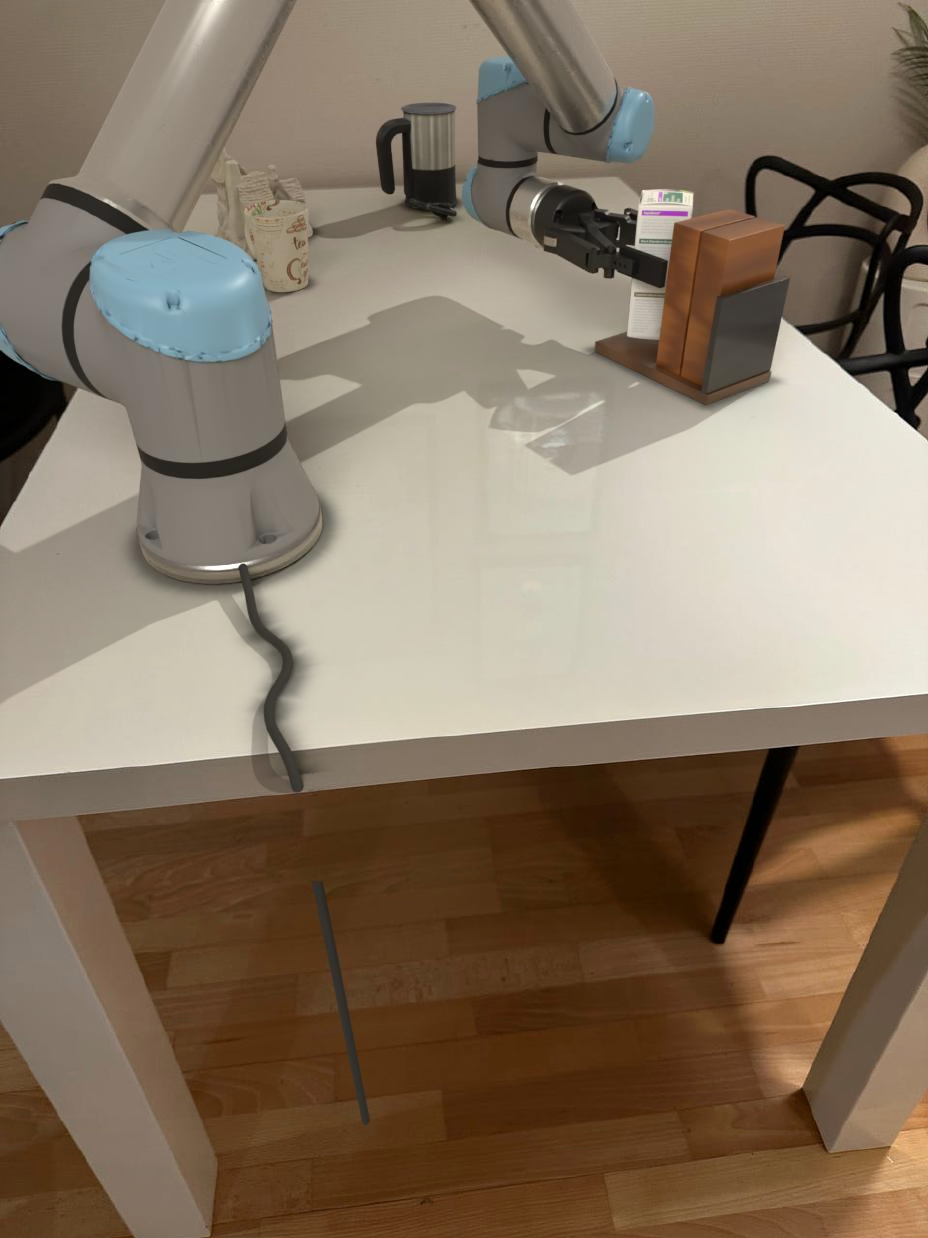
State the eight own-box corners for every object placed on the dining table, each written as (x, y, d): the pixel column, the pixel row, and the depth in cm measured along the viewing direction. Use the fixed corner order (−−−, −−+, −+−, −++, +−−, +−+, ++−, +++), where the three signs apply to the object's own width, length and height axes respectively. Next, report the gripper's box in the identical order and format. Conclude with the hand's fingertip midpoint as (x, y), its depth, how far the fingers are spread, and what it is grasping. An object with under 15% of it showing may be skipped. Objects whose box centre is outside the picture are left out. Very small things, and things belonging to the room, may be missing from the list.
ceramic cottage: (229, 262, 131) (216, 148, 122) (207, 236, 143) (193, 130, 134) (332, 254, 137) (325, 144, 128) (302, 230, 149) (295, 127, 140)
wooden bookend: (769, 381, 98) (803, 226, 88) (706, 405, 94) (733, 245, 84) (655, 331, 110) (673, 188, 99) (594, 351, 105) (606, 204, 95)
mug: (281, 300, 120) (270, 221, 113) (225, 279, 126) (212, 204, 120) (328, 283, 124) (320, 207, 118) (272, 264, 131) (261, 191, 125)
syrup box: (677, 341, 101) (696, 204, 91) (624, 337, 102) (638, 201, 92) (677, 322, 105) (696, 189, 96) (626, 319, 106) (640, 187, 97)
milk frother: (434, 193, 160) (431, 98, 150) (496, 210, 151) (496, 111, 141) (371, 209, 152) (364, 111, 143) (432, 229, 143) (428, 125, 134)
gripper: (615, 233, 116) (752, 280, 102) (486, 265, 107) (617, 323, 93) (620, 170, 111) (765, 211, 97) (486, 198, 102) (624, 248, 88)
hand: (692, 265), depth 95 cm, fingers closed on syrup box, 8 cm apart
